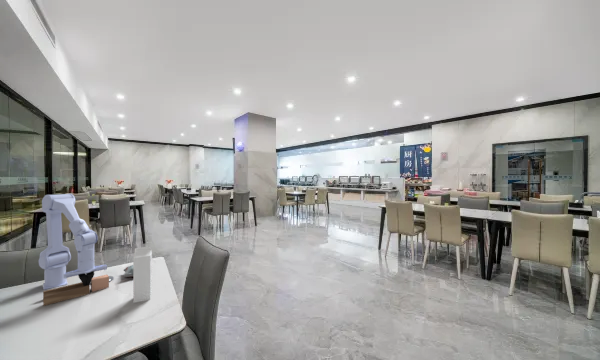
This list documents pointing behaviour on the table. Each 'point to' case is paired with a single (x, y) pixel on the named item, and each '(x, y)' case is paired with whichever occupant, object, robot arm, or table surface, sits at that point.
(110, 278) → the coaster
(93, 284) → the block
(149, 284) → the milk
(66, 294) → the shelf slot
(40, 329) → the table surface
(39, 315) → the table surface
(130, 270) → the packaged food
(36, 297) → the table surface
